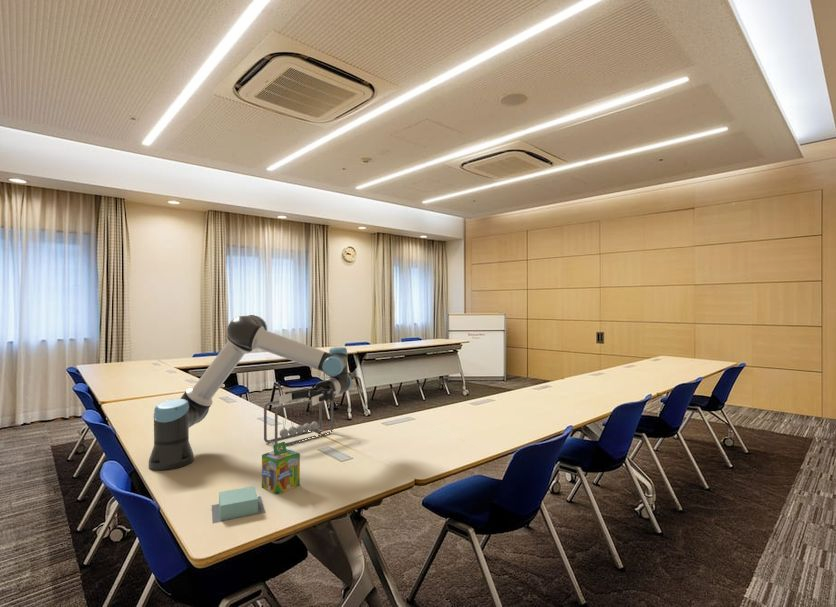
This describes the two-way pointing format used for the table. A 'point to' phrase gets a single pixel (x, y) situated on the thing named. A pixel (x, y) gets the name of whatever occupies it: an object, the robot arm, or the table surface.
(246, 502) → the pedestal
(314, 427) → the newton's cradle
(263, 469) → the chalk box
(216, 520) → the mat
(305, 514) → the table surface
